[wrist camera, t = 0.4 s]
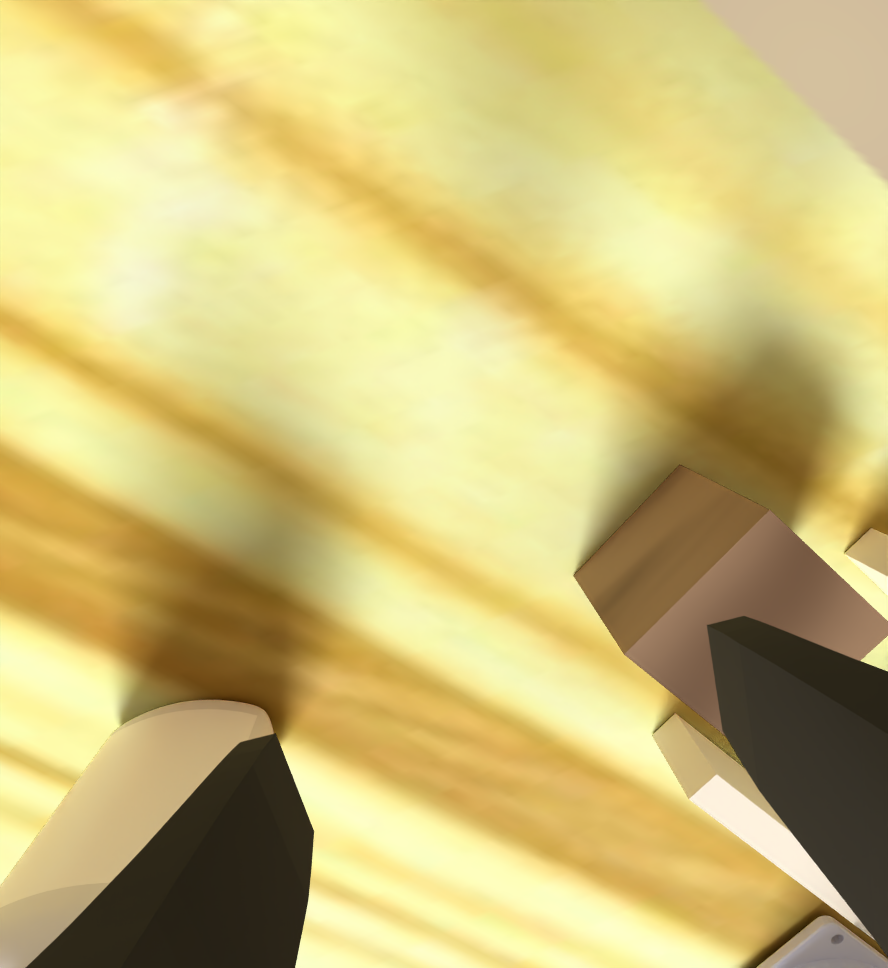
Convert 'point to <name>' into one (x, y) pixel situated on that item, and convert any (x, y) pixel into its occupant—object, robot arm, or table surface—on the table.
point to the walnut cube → (715, 585)
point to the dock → (730, 786)
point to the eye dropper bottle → (115, 815)
